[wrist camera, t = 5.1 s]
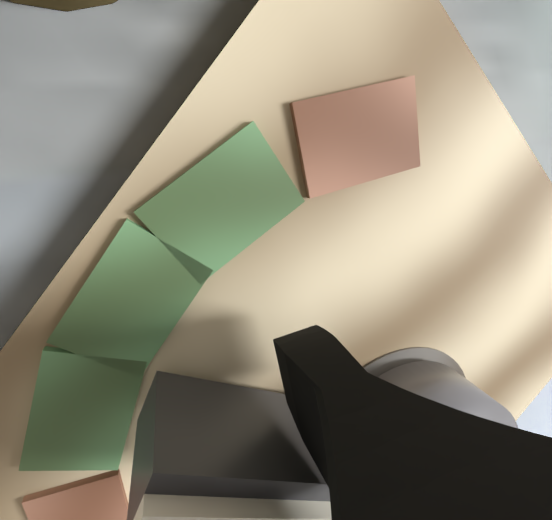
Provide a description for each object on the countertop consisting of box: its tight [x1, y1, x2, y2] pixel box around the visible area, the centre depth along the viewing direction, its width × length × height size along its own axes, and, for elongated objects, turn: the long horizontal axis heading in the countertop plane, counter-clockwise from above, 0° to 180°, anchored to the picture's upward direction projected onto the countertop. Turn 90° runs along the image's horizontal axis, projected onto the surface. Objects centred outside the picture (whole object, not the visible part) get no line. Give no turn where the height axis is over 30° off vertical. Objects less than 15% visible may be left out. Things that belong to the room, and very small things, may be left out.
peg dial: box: [127, 361, 518, 520], centre depth 9 cm, size 12×6×3 cm, turn 66°
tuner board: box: [0, 0, 552, 520], centre depth 12 cm, size 18×20×1 cm
